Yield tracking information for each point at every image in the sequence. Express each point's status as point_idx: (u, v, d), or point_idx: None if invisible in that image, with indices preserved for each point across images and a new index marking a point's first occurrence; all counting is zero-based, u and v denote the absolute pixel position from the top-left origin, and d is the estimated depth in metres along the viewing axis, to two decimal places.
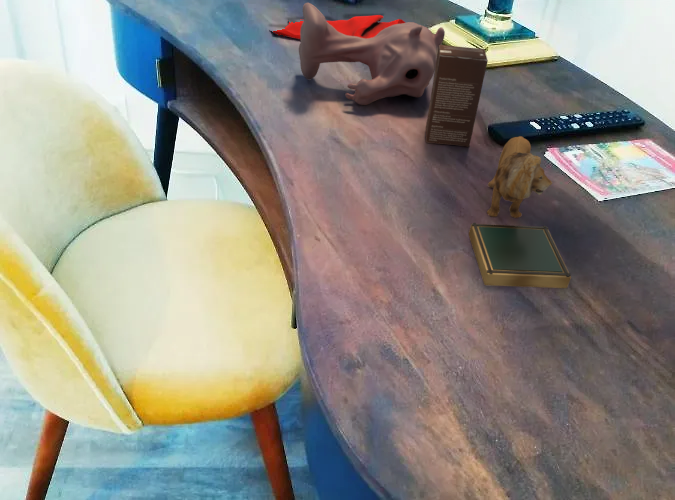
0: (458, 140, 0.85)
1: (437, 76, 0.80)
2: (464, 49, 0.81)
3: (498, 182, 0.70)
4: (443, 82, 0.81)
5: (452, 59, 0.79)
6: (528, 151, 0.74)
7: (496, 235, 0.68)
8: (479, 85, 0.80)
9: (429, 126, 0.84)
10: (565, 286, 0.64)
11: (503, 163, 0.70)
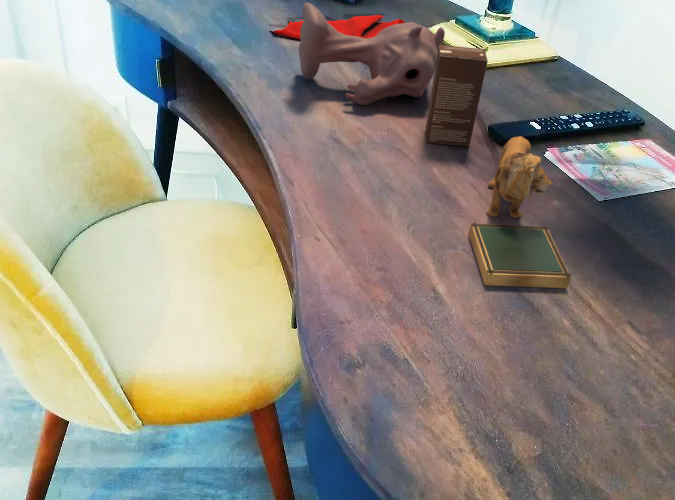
0: (458, 140, 0.85)
1: (437, 76, 0.80)
2: (464, 49, 0.81)
3: (498, 182, 0.70)
4: (443, 82, 0.81)
5: (452, 59, 0.79)
6: (528, 151, 0.74)
7: (496, 235, 0.68)
8: (479, 85, 0.80)
9: (429, 126, 0.84)
10: (565, 286, 0.64)
11: (503, 163, 0.70)
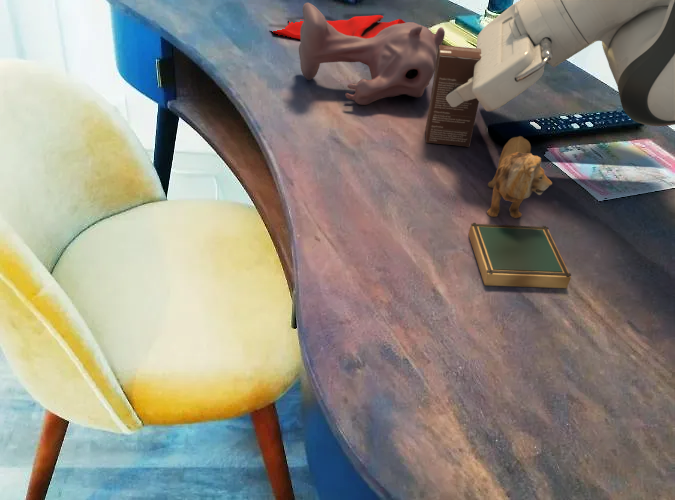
0: (458, 140, 0.85)
1: (437, 76, 0.80)
2: (464, 49, 0.81)
3: (498, 182, 0.70)
4: (443, 82, 0.81)
5: (452, 59, 0.79)
6: (528, 151, 0.74)
7: (496, 235, 0.68)
8: None
9: (429, 126, 0.84)
10: (565, 286, 0.64)
11: (503, 163, 0.70)
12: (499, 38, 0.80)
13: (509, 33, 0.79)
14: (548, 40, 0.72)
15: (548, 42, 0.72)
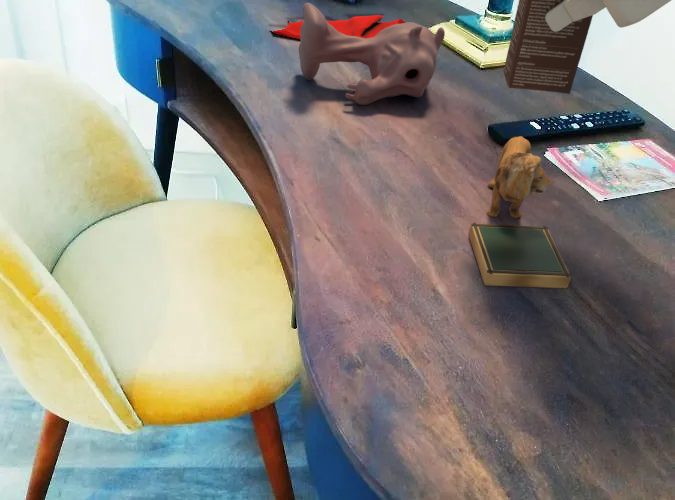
0: (555, 84, 0.59)
1: None
2: None
3: (498, 182, 0.70)
4: None
5: None
6: (528, 151, 0.74)
7: (496, 235, 0.68)
8: None
9: (514, 63, 0.59)
10: (565, 286, 0.64)
11: (503, 163, 0.70)
12: None
13: None
14: None
15: None
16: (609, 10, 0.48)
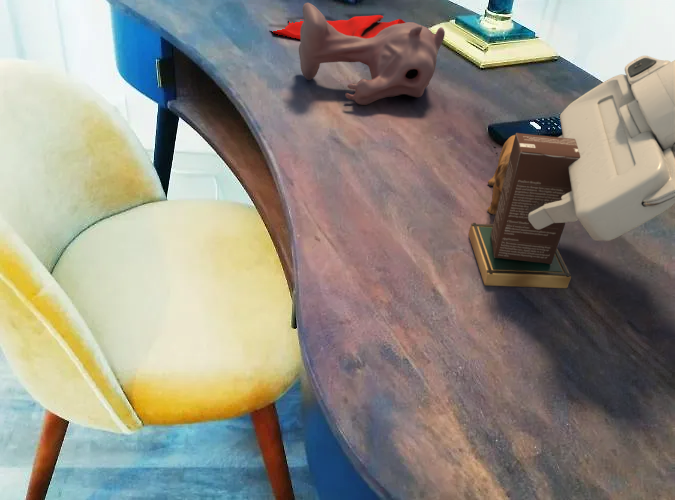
0: (537, 256, 0.64)
1: (515, 178, 0.59)
2: (550, 140, 0.60)
3: (498, 179, 0.70)
4: (523, 186, 0.59)
5: (537, 158, 0.58)
6: None
7: None
8: None
9: (499, 238, 0.63)
10: (565, 286, 0.64)
11: (503, 160, 0.70)
12: (601, 130, 0.58)
13: (616, 123, 0.58)
14: None
15: None
16: (585, 228, 0.52)
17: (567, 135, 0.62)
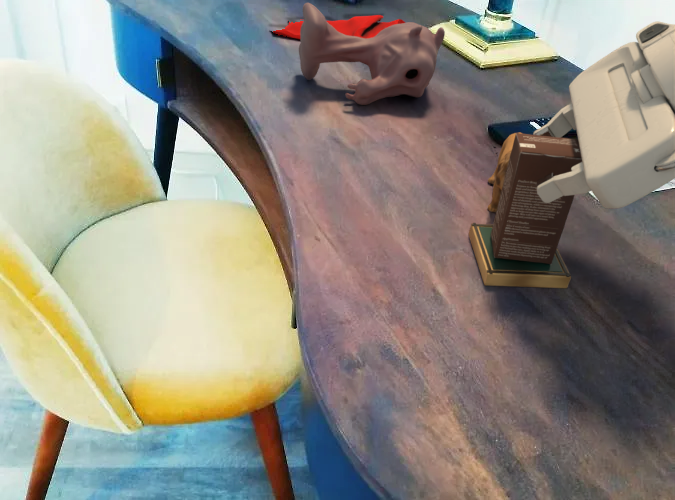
0: (537, 256, 0.64)
1: (515, 178, 0.59)
2: (551, 140, 0.60)
3: (498, 177, 0.70)
4: (523, 186, 0.59)
5: (537, 158, 0.58)
6: None
7: None
8: None
9: (499, 238, 0.63)
10: (565, 286, 0.64)
11: (503, 159, 0.70)
12: (612, 97, 0.57)
13: (627, 90, 0.56)
14: None
15: None
16: (595, 195, 0.51)
17: (576, 104, 0.60)
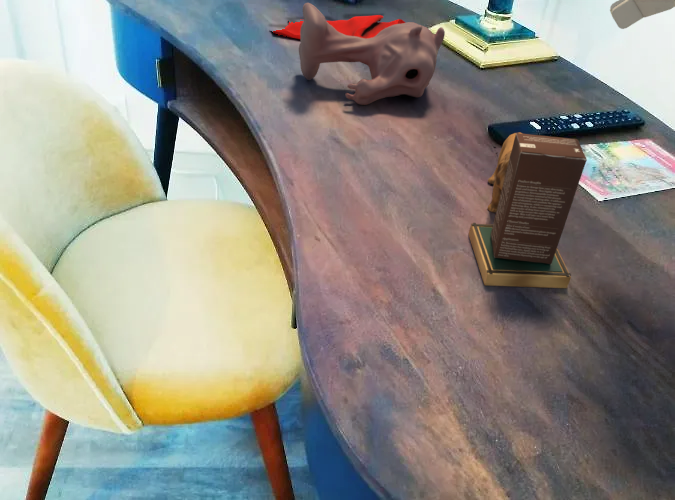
0: (537, 256, 0.64)
1: (515, 178, 0.59)
2: (551, 140, 0.60)
3: (498, 177, 0.70)
4: (523, 186, 0.59)
5: (537, 158, 0.58)
6: None
7: None
8: (572, 190, 0.59)
9: (499, 238, 0.63)
10: (565, 286, 0.64)
11: (503, 159, 0.70)
12: None
13: None
14: None
15: None
16: None
17: None
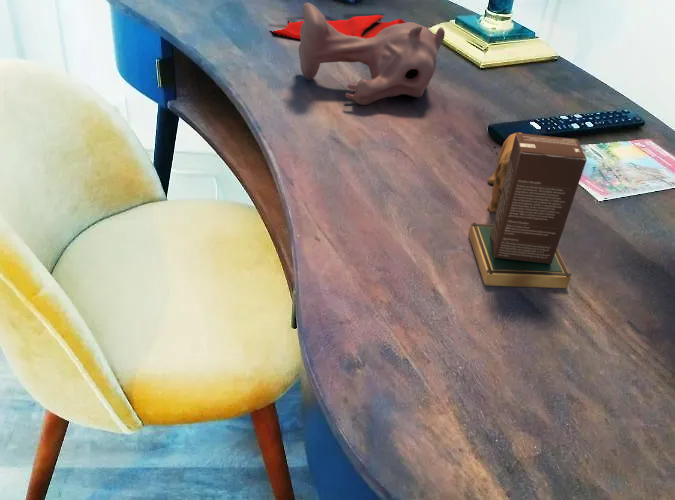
0: (537, 256, 0.64)
1: (515, 178, 0.59)
2: (551, 140, 0.60)
3: (498, 177, 0.70)
4: (523, 186, 0.59)
5: (537, 158, 0.58)
6: None
7: None
8: (572, 190, 0.59)
9: (499, 238, 0.63)
10: (565, 286, 0.64)
11: (503, 159, 0.70)
12: None
13: None
14: None
15: None
16: None
17: None
